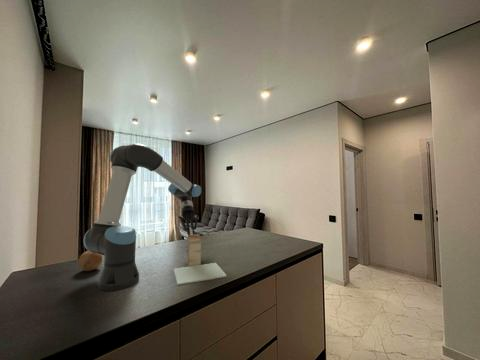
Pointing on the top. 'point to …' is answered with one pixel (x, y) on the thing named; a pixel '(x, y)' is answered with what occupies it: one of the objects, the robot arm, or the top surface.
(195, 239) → the wood block
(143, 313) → the top surface
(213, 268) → the rubber mat
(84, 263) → the onion
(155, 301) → the top surface
